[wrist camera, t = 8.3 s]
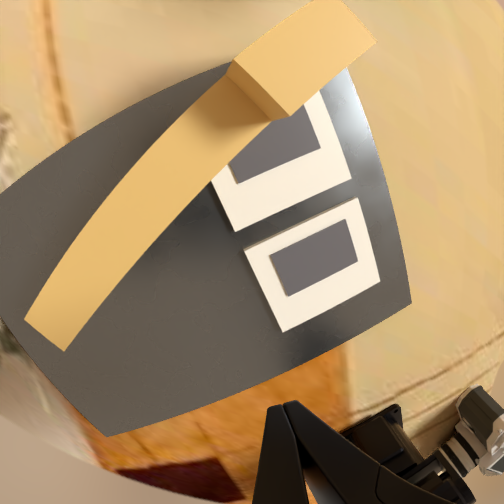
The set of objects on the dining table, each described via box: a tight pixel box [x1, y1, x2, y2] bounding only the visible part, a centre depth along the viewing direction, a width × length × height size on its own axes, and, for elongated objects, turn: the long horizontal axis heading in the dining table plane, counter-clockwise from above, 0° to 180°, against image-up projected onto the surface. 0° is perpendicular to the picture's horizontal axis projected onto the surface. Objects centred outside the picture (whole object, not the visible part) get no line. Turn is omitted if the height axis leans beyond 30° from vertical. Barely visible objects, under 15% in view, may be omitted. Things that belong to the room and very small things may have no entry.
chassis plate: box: [0, 62, 412, 437], centre depth 15 cm, size 16×22×1 cm
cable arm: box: [24, 0, 378, 351], centre depth 10 cm, size 16×2×5 cm, turn 134°
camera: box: [439, 384, 504, 478], centre depth 24 cm, size 16×9×10 cm, turn 38°
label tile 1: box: [243, 197, 380, 332], centre depth 16 cm, size 5×6×1 cm
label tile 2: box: [211, 91, 352, 232], centre depth 13 cm, size 5×6×1 cm
